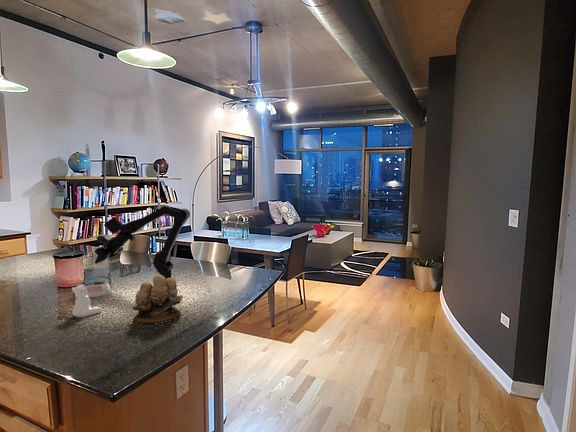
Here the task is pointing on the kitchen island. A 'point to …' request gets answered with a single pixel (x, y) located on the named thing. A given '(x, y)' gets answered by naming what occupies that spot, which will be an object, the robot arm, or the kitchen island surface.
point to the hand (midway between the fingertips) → (98, 261)
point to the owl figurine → (157, 301)
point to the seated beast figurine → (83, 303)
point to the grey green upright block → (100, 266)
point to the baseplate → (97, 290)
